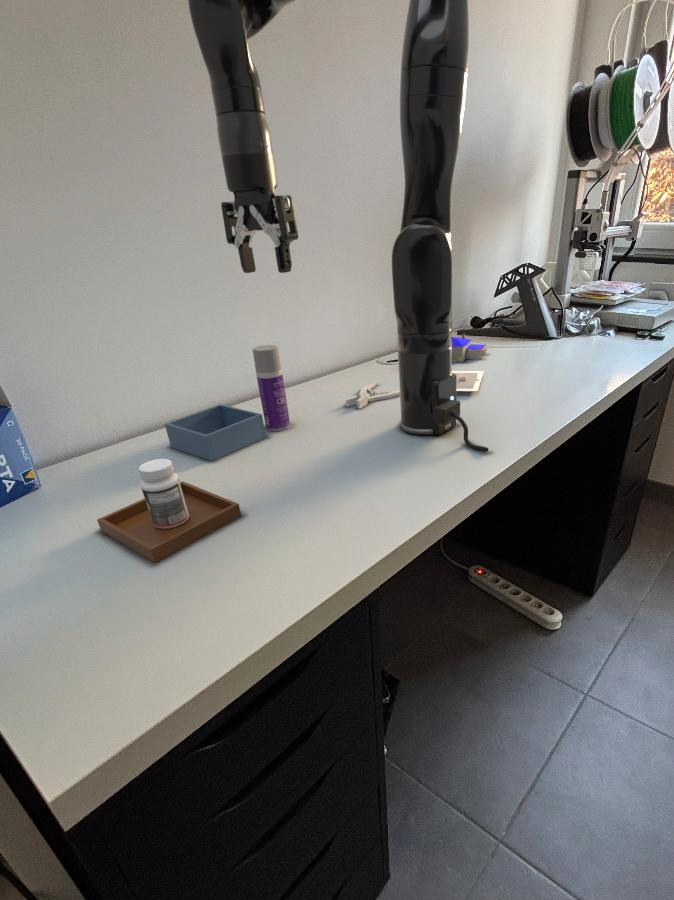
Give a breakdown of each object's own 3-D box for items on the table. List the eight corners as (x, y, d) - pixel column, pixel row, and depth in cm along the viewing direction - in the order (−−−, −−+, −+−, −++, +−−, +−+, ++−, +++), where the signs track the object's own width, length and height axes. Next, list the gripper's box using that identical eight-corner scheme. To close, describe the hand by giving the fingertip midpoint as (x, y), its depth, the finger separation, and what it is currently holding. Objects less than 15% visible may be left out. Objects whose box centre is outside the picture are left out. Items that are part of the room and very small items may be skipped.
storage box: (266, 437, 98) (261, 414, 96) (211, 461, 90) (205, 436, 87) (225, 425, 105) (220, 403, 102) (170, 447, 96) (164, 423, 94)
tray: (241, 515, 73) (238, 503, 72) (155, 562, 64) (150, 549, 63) (185, 492, 80) (182, 481, 79) (101, 531, 71) (96, 519, 70)
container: (285, 431, 100) (272, 350, 92) (262, 431, 101) (247, 351, 93) (293, 422, 104) (282, 344, 96) (271, 422, 105) (258, 344, 97)
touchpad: (440, 395, 113) (440, 385, 112) (450, 375, 125) (450, 366, 124) (477, 396, 111) (477, 386, 110) (483, 376, 123) (483, 366, 122)
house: (476, 365, 132) (477, 342, 129) (422, 363, 137) (421, 341, 134) (486, 354, 141) (487, 332, 138) (435, 352, 146) (434, 331, 143)
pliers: (409, 382, 117) (371, 403, 106) (409, 389, 118) (372, 410, 107) (372, 378, 122) (332, 397, 111) (373, 385, 123) (333, 404, 112)
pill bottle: (159, 513, 74) (141, 458, 70) (193, 510, 74) (178, 455, 70) (148, 531, 70) (129, 474, 65) (185, 528, 70) (168, 470, 66)
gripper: (299, 147, 77) (314, 269, 85) (236, 159, 85) (255, 269, 93) (260, 146, 72) (280, 275, 80) (197, 158, 80) (221, 275, 88)
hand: (266, 272), depth 86 cm, fingers open, 8 cm apart
